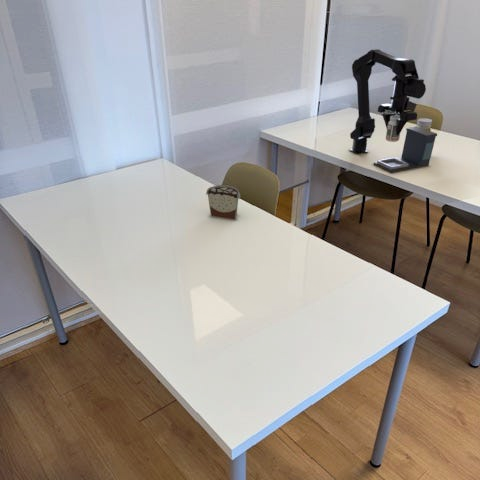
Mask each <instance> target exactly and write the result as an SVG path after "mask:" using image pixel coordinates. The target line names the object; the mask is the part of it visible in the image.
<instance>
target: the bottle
mask: <svg viewBox="0 0 480 480" xmlns="http://www.w3.org/2000/svg"><path fill="white" fill-rule="evenodd" d="M432 123H433V119H431V118H425V117H420V118H417V123H416V126H417V127H420V128H423V129H426V130H428V131H431V132H432V129H431V127H432Z"/></svg>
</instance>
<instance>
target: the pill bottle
mask: <svg viewBox="0 0 480 480" xmlns="http://www.w3.org/2000/svg"><path fill="white" fill-rule="evenodd" d="M396 119H400V115H397V114H396V115H392V116H390V121H389V122H388V127H387V128H386V134H385V141H387V142H390V143H395V142H398V141H399V140H400V136H401V133H400V134H399V135H397V133H396Z"/></svg>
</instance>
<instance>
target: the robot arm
mask: <svg viewBox="0 0 480 480" xmlns="http://www.w3.org/2000/svg"><path fill="white" fill-rule="evenodd" d="M377 64H379V65H381V66H383V67H385V68H388V69H390V70H391V72H392V74H394V75H395V76H393V77H392V78H391V81H392V82H395V83H394V88H393V93H392V95H390V97H389V99H390V100H391V103H381V104H379V105H378V107H377V113H380V115H381V116H382V118H383V121H384V124H385V127H386V129H387V127H388V122H389V121H390V116H392V115H399V116H400V119H396V133H397V135H399V134H400V135H401V133H402V131H403V130H404V127H405V126H406V124H407V122H410V121H416V120H417V121H418V112H416V107H417V106H418V104H417V103H415V102H413V101H410V98H413V99H418V100H420V99H422V98H423V97H424V95H425V94H426V91H427V87H426V86H427V85H426V84H425V83H424V81H425V79H423V78H421V79H420V77H419V73H418V70H417V66H416V61H415V60H414V59H411V58H400V57H397V56H394V55H392V54H390V53H387V52H385V51H382V50H381V49H377V48H375V49H370V50H368V51H367V53H365V54H363V55H362V56H360V57H359V58H357V59H354V61H353V63H352V64H351V71H352V76H353V78H354V80H355V81H356V90H357V111H358V116H357V119H356V122H355V127H354V129H353V130H352V131H351V132H350V133H349V136H350V139H351V140H352V147H351V148H349V149H348V150H349V151H350V152H352V153H354V154H356V155H359V154H364V153H365V154H367V153H368V152H369V151H368V150H367V145H368V139H371V138H372V136H373V134H374V132H375V128H376V120H375V118H374V117H373V118H372V116H371V112H370V111H371V110H370V88H369V87H370V86H369V83H370V82H369V80H370V77H371V75H372V72H373V71H372V70H373V67H375V66H376V65H377Z"/></svg>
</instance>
